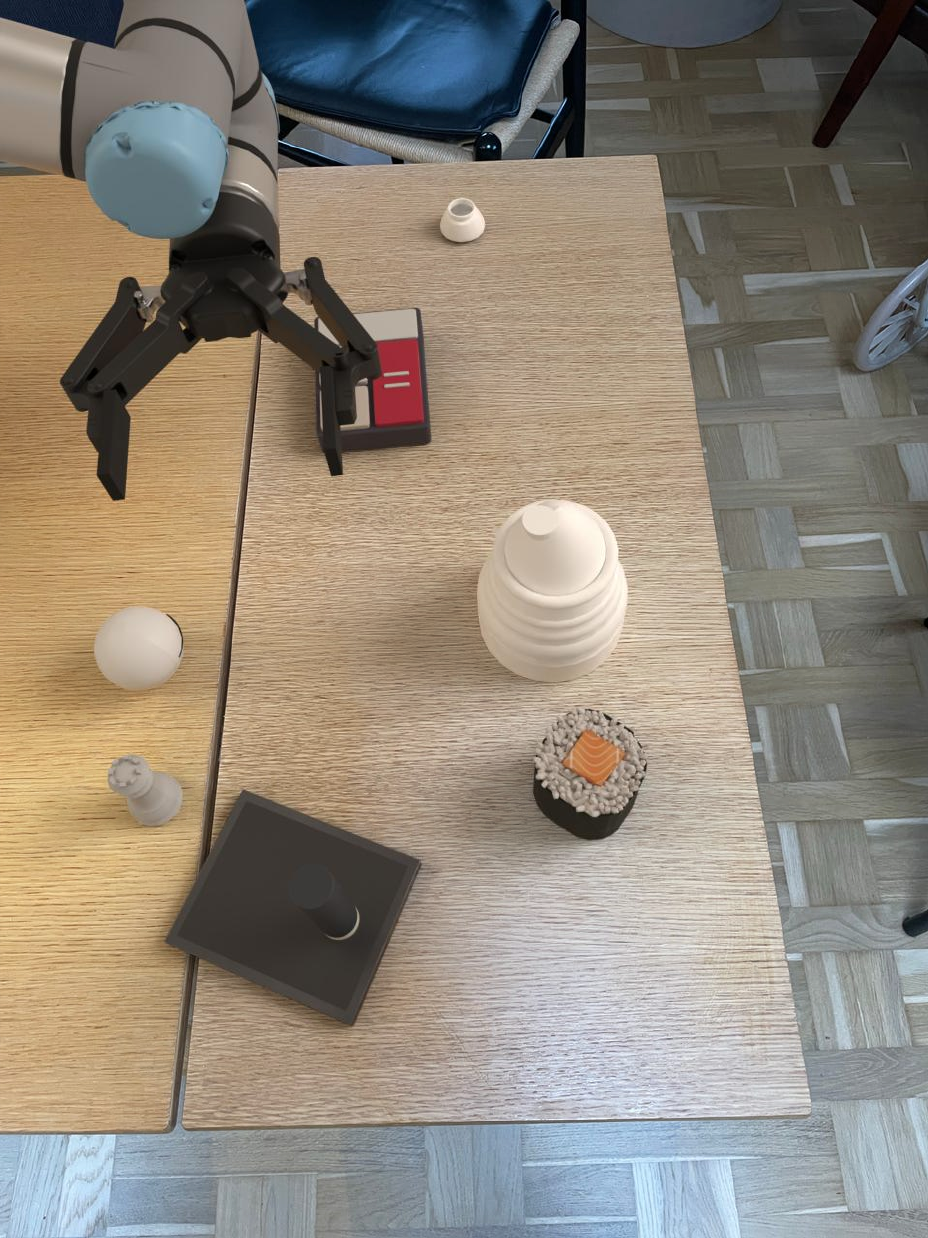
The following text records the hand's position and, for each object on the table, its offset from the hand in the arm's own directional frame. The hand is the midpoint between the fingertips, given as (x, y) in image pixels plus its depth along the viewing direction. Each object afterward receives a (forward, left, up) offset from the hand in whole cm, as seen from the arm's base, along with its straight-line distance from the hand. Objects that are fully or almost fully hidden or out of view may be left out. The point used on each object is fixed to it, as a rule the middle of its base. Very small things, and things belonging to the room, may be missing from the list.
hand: (222, 475), depth 60 cm
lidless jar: (-9, +56, -30) cm, 64 cm away
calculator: (-8, +31, -30) cm, 44 cm away
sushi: (+25, -1, -30) cm, 40 cm away
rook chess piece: (-7, -15, -30) cm, 34 cm away
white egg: (-15, -3, -30) cm, 34 cm away
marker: (+11, -18, -29) cm, 36 cm away
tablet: (+7, -18, -30) cm, 36 cm away
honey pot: (+17, +13, -30) cm, 37 cm away
